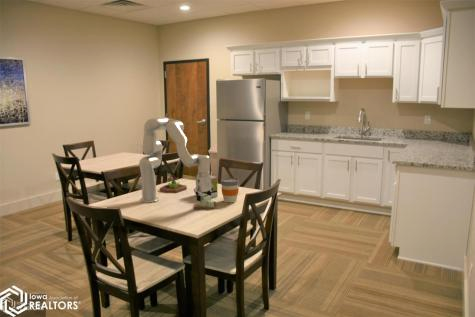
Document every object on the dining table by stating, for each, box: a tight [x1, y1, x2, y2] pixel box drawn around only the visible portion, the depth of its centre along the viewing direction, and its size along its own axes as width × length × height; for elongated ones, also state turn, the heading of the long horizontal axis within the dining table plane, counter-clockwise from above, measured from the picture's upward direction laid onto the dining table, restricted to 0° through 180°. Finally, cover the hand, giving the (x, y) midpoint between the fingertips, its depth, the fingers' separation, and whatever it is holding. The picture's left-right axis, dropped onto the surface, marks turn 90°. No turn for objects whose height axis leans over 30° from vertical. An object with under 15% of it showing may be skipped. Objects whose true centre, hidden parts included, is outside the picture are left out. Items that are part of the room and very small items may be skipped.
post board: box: [193, 201, 217, 211], centre depth 251 cm, size 14×14×5 cm
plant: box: [159, 176, 188, 194], centre depth 296 cm, size 20×20×11 cm
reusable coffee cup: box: [220, 177, 240, 203], centre depth 263 cm, size 13×13×15 cm
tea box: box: [195, 174, 218, 199], centre depth 277 cm, size 15×10×15 cm, turn 37°
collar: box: [197, 195, 215, 207], centre depth 249 cm, size 10×6×6 cm, turn 46°
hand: (203, 199), depth 251 cm, fingers open, 9 cm apart
